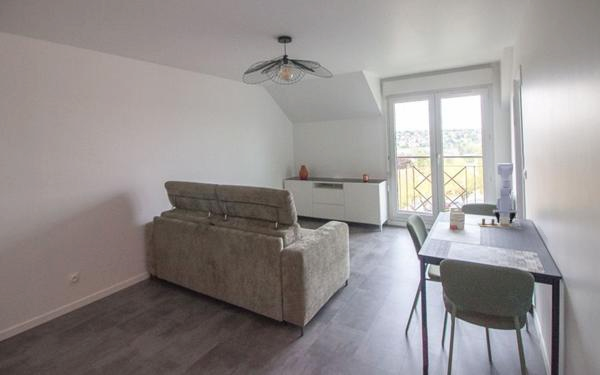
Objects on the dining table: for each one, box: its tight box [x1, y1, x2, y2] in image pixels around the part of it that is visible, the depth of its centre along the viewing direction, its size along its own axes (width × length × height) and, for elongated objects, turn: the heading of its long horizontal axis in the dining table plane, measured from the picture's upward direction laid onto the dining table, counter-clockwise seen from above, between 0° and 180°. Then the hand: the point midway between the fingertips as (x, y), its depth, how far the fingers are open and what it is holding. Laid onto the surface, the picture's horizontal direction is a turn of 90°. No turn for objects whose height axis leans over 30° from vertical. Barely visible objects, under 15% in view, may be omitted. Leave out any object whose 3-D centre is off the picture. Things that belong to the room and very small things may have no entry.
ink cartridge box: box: [449, 207, 466, 230], centre depth 231 cm, size 9×5×15 cm, turn 84°
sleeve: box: [499, 217, 510, 227], centre depth 236 cm, size 5×6×5 cm
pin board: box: [477, 218, 500, 228], centre depth 236 cm, size 10×12×5 cm
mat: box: [495, 222, 513, 227], centre depth 236 cm, size 9×9×1 cm
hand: (504, 222), depth 236 cm, fingers open, 7 cm apart
